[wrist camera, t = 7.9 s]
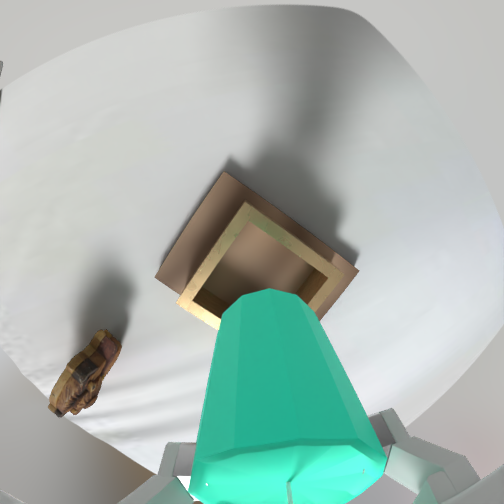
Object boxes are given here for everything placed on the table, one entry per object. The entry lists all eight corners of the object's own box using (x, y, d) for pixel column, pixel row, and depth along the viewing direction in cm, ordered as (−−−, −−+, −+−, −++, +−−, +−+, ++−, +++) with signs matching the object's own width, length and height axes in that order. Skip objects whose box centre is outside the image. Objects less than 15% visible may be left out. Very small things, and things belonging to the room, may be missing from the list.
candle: (290, 268, 15) (379, 447, 4) (334, 349, 17) (414, 514, 5) (196, 319, 16) (130, 509, 4) (250, 390, 17) (253, 563, 5)
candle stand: (158, 272, 28) (140, 291, 23) (225, 171, 26) (219, 168, 21) (284, 351, 31) (291, 381, 25) (354, 266, 29) (375, 283, 23)
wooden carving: (99, 402, 33) (72, 449, 23) (73, 384, 32) (41, 427, 22) (140, 325, 30) (104, 376, 20) (107, 302, 29) (61, 345, 19)
